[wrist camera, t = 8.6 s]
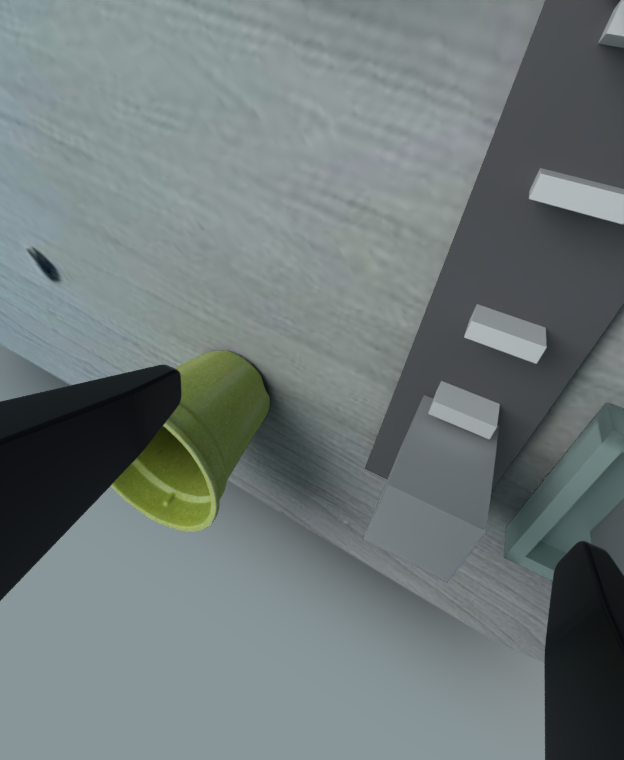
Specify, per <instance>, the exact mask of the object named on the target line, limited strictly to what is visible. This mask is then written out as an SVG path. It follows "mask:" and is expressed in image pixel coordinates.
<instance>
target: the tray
mask: <svg viewBox="0 0 624 760" xmlns="http://www.w3.org/2000/svg"><path fill="white" fill-rule="evenodd" d="M623 498H624V409H622V408H620V407H617V406H614V405H612V404H609V403H605V405H604V406H603V407H602V408H601V410H600V411H599V412H598V413H597V415H596V416H595V417H594V418H593V420H592V421H591V422H590V423H589V425H588V426H587V427H586V428H585V430H584V431H583V432H582V433H581V435H580V436H579V437H578V438H577V440H576V441H575V442H574V443H573V445H572V446H571V447H570V448H569V450H568V451H567V452H566V453H565V455H564V456H563V457H562V458H561V459H560V461H559V462H558V463H557V464H556V466H555V467H554V468H553V469H552V471H551V472H550V473H549V474H548V476H547V477H546V478H545V479H544V481H543V482H542V483H541V484H540V486H539V487H538V488H537V489H536V491H535V492H534V493H533V494H532V496H531V497H530V498H529V499H528V501H527V502H526V503H525V504H524V506H523V507H522V508H521V509H520V511H519V512H518V513H517V514H516V516H515V517H514V518H513V519H512V521H511V522H510V523H509V524H508V526H507V527H506V534H505V548H504V558H506V559H508V560H510V561H512V562H514V563H517V564H519V565H521V566H523V567H525V568H527V569H529V570H531V571H533V572H535V573H537V574H539V575H541V576H543V577H545V578H547V579H549V580H551V581H553V574H554V570H555V567H556V565H557V563H558V562H559V561H560V560H561V559H562V558H563V557H564V555H565V554H566V553H567V552H568V551H569V550H570V549H571V548H572V547H573V546H574V545H575V544H576V543H577V542H579V541H586V542H589V543H591V538H590V531H591V530H592V529H593V528H594V527H595V526H596V525H597V524H598V523H599V522H600V521H601V520H602V519H603V518H604V517H605V516H606V515H607V514H608V513H609V512H610V511H611V510H612V509H613V508H614V507H615V506H616V505H617V504H618V503H619V502H620V501H621V500H622V499H623Z"/></svg>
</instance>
